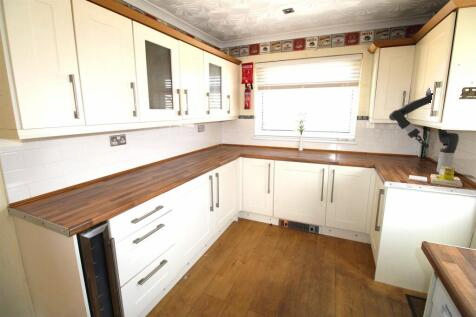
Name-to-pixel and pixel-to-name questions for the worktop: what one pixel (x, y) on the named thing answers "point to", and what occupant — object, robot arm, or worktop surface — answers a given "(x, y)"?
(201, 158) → the worktop surface
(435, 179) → the puzzle board
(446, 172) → the supplement box
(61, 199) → the worktop surface
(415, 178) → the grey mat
